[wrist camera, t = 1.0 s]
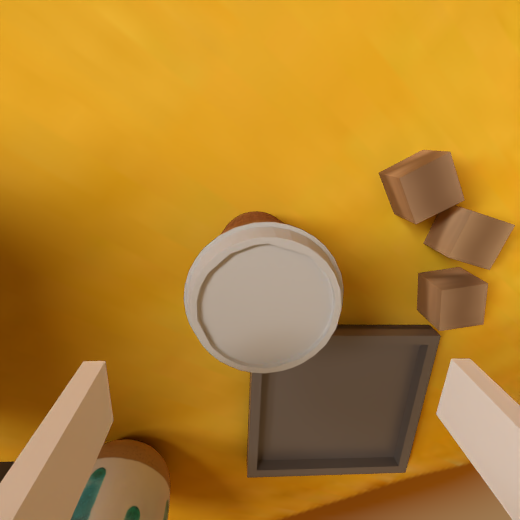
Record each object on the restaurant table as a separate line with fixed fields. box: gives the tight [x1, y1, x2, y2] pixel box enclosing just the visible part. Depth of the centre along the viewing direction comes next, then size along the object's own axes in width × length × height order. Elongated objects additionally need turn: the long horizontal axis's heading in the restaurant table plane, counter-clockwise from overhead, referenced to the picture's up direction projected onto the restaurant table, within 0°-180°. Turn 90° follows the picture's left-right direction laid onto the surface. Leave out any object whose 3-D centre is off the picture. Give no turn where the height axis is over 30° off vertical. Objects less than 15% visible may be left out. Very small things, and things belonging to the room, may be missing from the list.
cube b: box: [424, 205, 515, 270], centre depth 29 cm, size 4×4×4 cm
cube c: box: [379, 150, 464, 224], centre depth 27 cm, size 4×4×4 cm
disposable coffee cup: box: [184, 211, 344, 373], centre depth 25 cm, size 10×10×12 cm
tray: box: [247, 325, 440, 477], centre depth 36 cm, size 18×18×2 cm
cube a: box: [417, 267, 488, 331], centre depth 31 cm, size 4×4×4 cm
